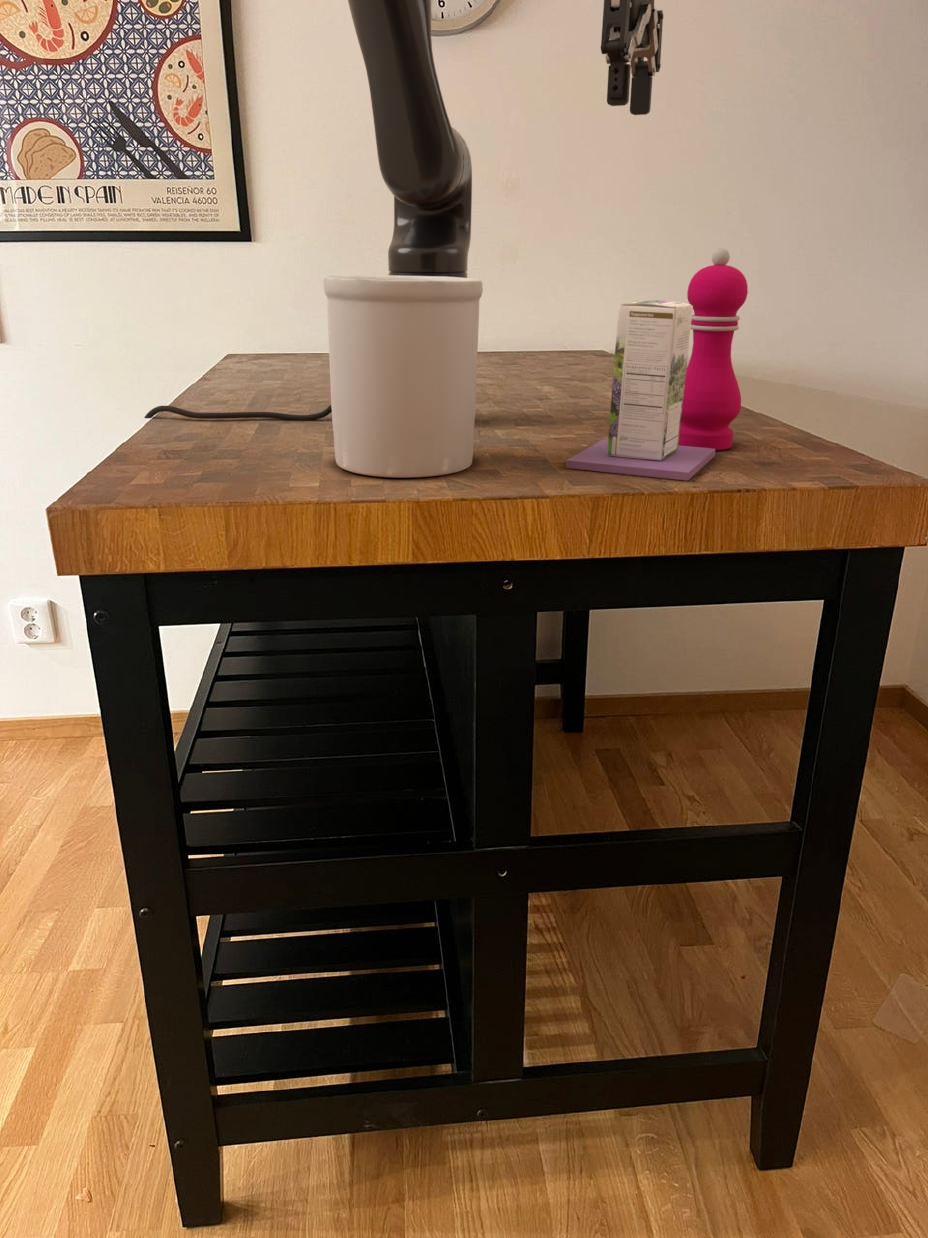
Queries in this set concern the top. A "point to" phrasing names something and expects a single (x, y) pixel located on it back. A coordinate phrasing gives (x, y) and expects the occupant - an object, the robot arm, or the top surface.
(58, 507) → the top surface
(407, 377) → the utensil holder
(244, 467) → the top surface
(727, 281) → the pepper mill
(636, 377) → the syrup box
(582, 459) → the place mat
